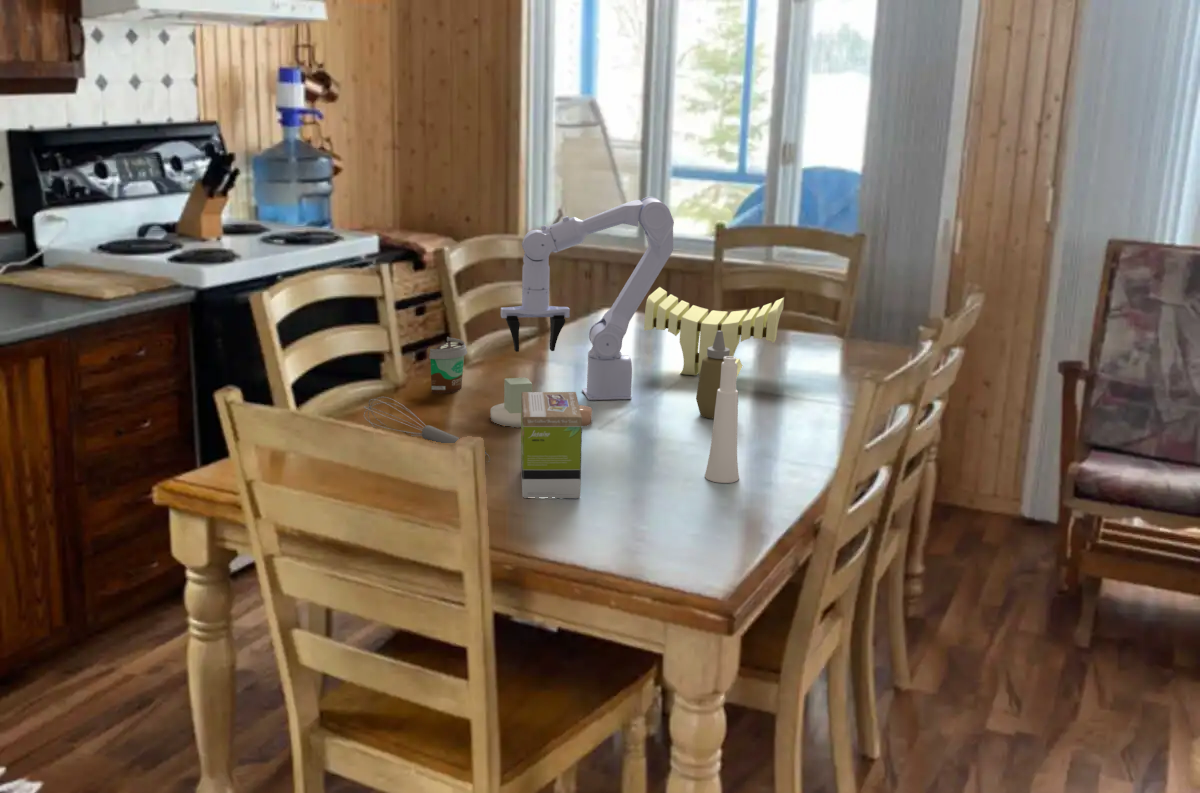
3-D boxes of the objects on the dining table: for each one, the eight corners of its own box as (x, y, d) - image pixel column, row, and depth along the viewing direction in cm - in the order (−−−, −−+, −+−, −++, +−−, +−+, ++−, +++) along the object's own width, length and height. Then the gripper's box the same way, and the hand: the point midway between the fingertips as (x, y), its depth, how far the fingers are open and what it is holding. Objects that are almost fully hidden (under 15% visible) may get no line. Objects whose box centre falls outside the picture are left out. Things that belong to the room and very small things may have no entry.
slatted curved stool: (642, 373, 282) (645, 298, 277) (656, 358, 297) (659, 286, 292) (770, 386, 275) (776, 309, 270) (778, 370, 290) (784, 297, 285)
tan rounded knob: (588, 419, 246) (589, 404, 245) (593, 426, 241) (594, 411, 241) (564, 419, 245) (565, 405, 244) (569, 427, 240) (569, 412, 240)
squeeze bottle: (737, 413, 254) (743, 329, 249) (728, 423, 246) (734, 337, 241) (700, 408, 256) (705, 325, 251) (690, 418, 249) (695, 333, 244)
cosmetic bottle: (743, 482, 212) (752, 361, 206) (710, 484, 211) (718, 362, 205) (732, 471, 218) (741, 352, 212) (700, 472, 216) (708, 353, 210)
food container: (456, 397, 257) (457, 351, 255) (429, 394, 258) (429, 349, 256) (474, 382, 269) (474, 339, 266) (447, 380, 270) (447, 336, 267)
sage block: (525, 405, 246) (526, 377, 244) (531, 412, 242) (532, 383, 240) (504, 407, 244) (504, 378, 243) (509, 413, 240) (510, 384, 239)
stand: (540, 410, 250) (540, 401, 249) (549, 426, 239) (549, 417, 239) (487, 412, 248) (487, 402, 247) (494, 428, 237) (494, 418, 237)
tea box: (519, 469, 215) (520, 389, 211) (575, 470, 215) (578, 390, 211) (520, 500, 200) (522, 414, 196) (581, 500, 201) (584, 415, 197)
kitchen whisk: (478, 468, 215) (478, 434, 213) (356, 428, 236) (355, 397, 234) (502, 461, 219) (502, 427, 218) (381, 421, 240) (380, 391, 238)
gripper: (565, 283, 260) (564, 345, 264) (499, 284, 257) (498, 346, 261) (572, 290, 254) (570, 353, 257) (503, 290, 251) (502, 354, 254)
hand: (534, 350), depth 259 cm, fingers open, 7 cm apart
